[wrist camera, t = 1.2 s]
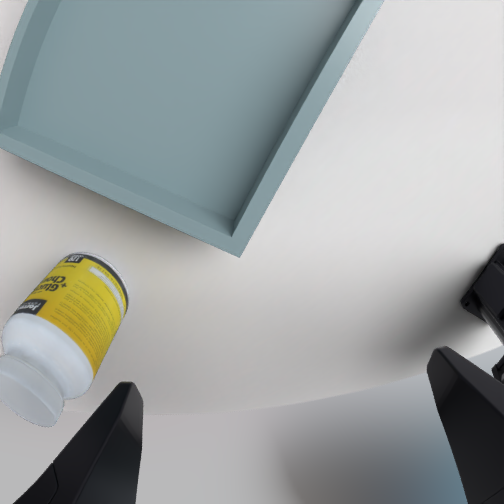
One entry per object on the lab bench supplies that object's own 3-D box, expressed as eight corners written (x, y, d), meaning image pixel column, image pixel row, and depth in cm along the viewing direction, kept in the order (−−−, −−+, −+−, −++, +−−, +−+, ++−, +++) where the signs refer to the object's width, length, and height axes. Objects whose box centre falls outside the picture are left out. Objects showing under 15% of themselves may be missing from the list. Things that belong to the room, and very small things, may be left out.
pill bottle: (109, 239, 21) (17, 356, 11) (145, 313, 24) (93, 441, 13) (46, 258, 22) (-41, 357, 12) (82, 323, 25) (23, 430, 14)
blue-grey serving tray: (367, -3, 13) (400, -28, 9) (244, 219, 20) (239, 257, 16) (131, -83, 10) (101, -114, 6) (33, 126, 17) (-15, 140, 13)
